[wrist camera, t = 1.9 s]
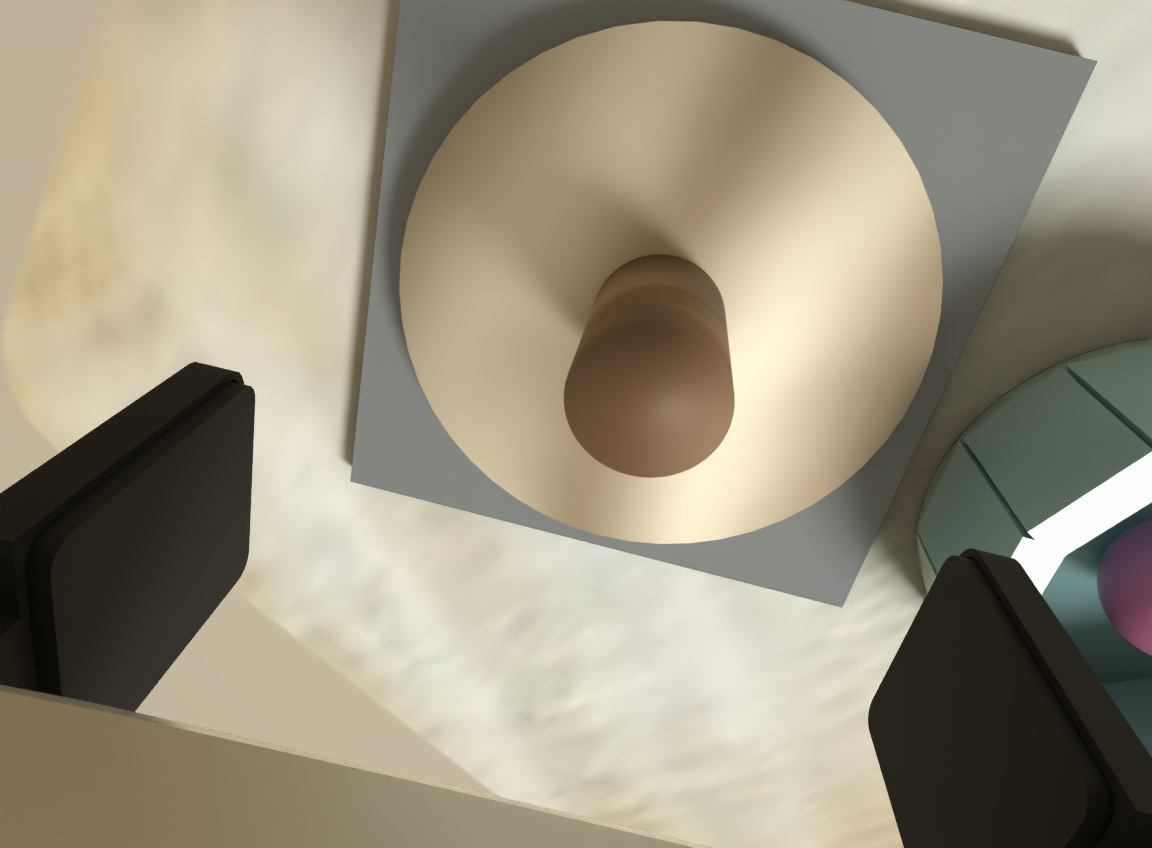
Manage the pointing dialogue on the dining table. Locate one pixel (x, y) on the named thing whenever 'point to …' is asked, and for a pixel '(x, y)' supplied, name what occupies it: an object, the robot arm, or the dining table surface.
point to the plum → (1129, 584)
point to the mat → (872, 67)
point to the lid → (671, 282)
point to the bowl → (1058, 499)
